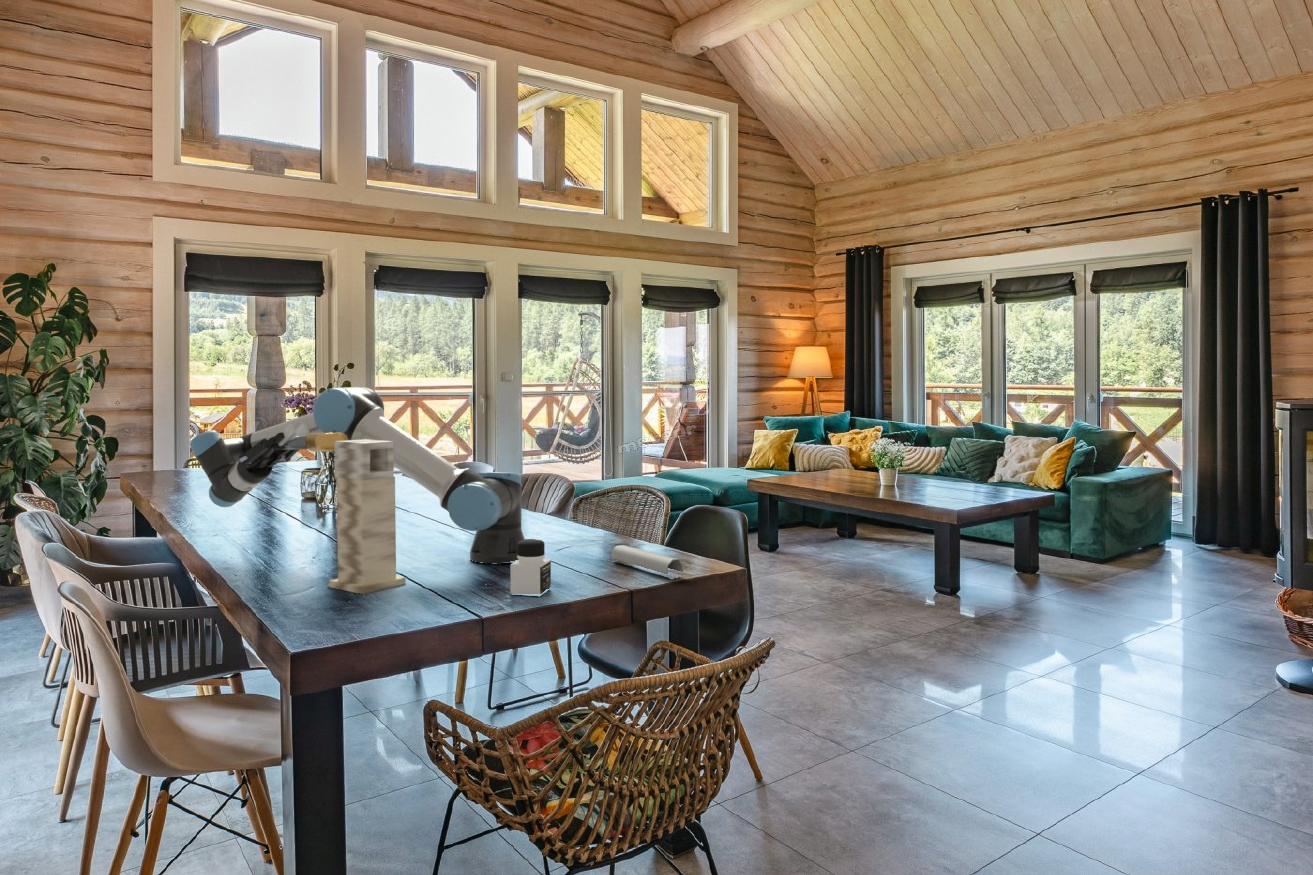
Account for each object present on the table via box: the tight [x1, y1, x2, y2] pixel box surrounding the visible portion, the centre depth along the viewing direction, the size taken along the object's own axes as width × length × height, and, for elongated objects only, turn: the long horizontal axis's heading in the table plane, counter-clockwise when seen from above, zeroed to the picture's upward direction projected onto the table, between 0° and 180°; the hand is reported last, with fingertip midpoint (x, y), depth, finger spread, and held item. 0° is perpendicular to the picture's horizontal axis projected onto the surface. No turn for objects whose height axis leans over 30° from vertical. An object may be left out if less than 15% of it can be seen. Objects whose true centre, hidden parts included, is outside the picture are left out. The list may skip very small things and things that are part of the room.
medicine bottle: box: [509, 538, 552, 594], centre depth 197 cm, size 7×7×12 cm
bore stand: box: [327, 439, 407, 595], centre depth 201 cm, size 12×12×33 cm
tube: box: [611, 544, 684, 574], centre depth 222 cm, size 5×5×25 cm
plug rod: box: [268, 432, 348, 453], centre depth 212 cm, size 26×4×4 cm, turn 57°
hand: (299, 428), depth 213 cm, fingers closed on plug rod, 3 cm apart
